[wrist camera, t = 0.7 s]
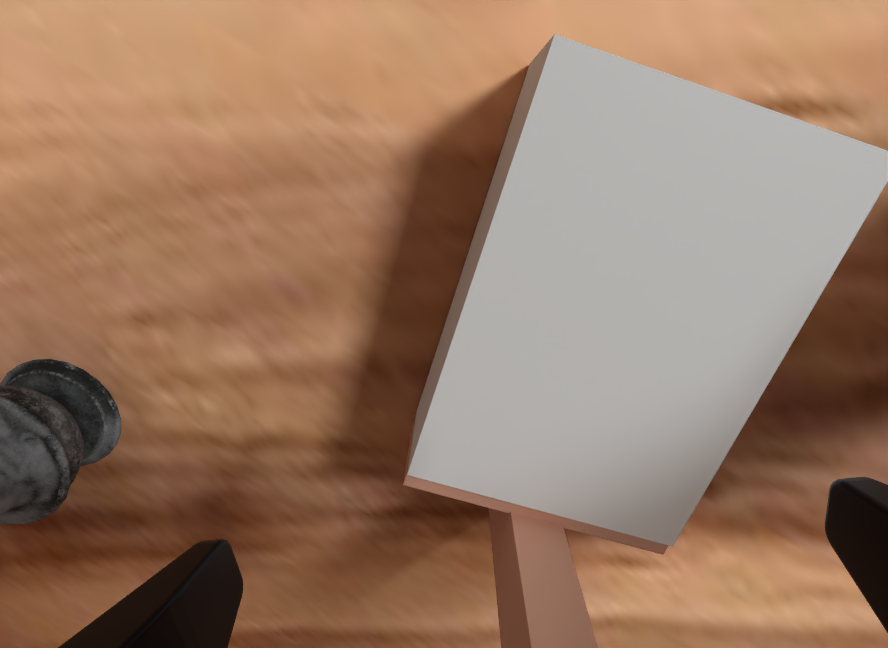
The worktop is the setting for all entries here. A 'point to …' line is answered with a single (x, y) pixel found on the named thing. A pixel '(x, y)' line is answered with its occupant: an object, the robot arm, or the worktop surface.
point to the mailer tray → (535, 570)
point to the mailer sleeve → (631, 290)
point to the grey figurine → (49, 435)
